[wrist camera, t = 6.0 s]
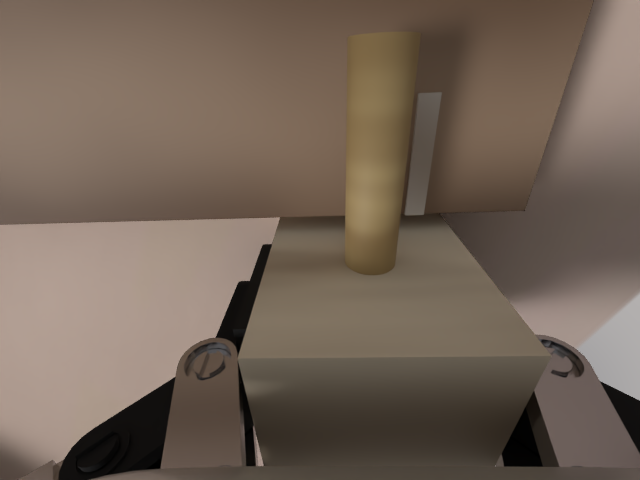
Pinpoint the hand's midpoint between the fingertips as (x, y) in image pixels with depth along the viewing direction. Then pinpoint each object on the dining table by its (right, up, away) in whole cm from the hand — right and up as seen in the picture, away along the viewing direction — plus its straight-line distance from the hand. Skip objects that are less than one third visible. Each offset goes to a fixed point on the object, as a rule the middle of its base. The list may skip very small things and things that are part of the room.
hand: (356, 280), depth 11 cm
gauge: (0, +2, 0) cm, 2 cm away
